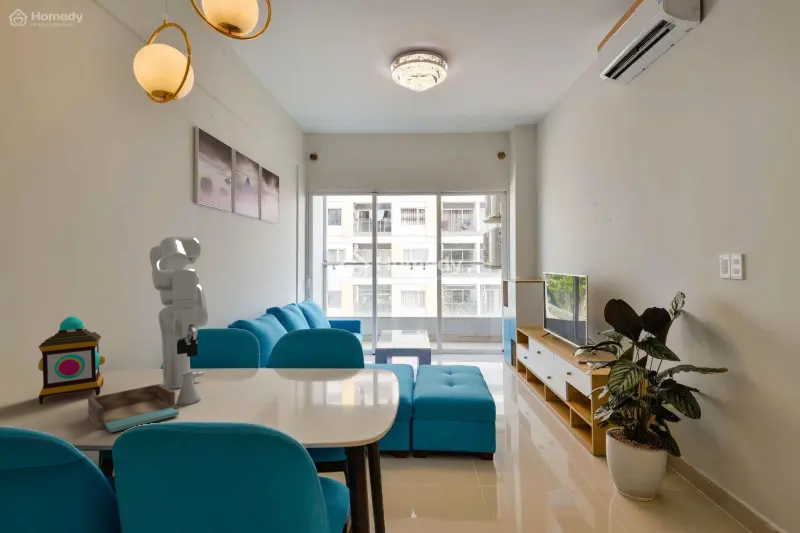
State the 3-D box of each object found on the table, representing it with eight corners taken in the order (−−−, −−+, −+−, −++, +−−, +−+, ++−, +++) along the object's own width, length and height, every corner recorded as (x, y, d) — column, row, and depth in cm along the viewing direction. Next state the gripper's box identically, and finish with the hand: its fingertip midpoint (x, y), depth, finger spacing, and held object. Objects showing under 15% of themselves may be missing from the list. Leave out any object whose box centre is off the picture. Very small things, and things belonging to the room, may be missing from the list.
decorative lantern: (103, 396, 151) (101, 315, 151) (33, 407, 140) (30, 320, 140) (107, 384, 168) (105, 312, 168) (44, 394, 157) (42, 316, 157)
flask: (190, 406, 134) (189, 375, 134) (171, 405, 136) (170, 375, 136) (205, 399, 141) (204, 370, 141) (187, 398, 143) (186, 370, 143)
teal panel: (170, 407, 129) (178, 411, 123) (170, 410, 129) (178, 414, 123) (104, 423, 116) (110, 428, 111) (104, 426, 116) (110, 432, 111)
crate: (160, 400, 141) (159, 383, 141) (175, 410, 130) (174, 391, 130) (88, 417, 127) (87, 398, 127) (98, 429, 116) (98, 408, 116)
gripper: (165, 305, 142) (167, 354, 142) (182, 305, 130) (184, 359, 130) (188, 303, 148) (190, 351, 147) (206, 303, 136) (208, 355, 135)
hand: (187, 354), depth 138 cm, fingers open, 9 cm apart
